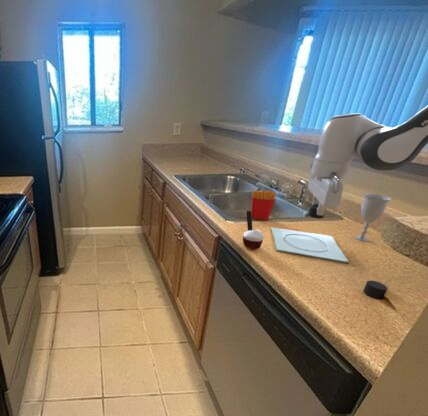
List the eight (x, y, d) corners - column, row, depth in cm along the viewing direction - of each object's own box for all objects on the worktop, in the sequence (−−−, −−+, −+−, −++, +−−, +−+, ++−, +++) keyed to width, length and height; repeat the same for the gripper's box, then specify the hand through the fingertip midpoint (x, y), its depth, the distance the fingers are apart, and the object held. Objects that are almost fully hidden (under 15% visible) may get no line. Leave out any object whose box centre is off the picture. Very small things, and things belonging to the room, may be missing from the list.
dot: (379, 291, 75) (383, 282, 74) (386, 300, 71) (390, 291, 70) (361, 288, 76) (364, 279, 75) (366, 296, 73) (370, 287, 72)
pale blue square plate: (331, 237, 105) (331, 235, 104) (348, 263, 88) (349, 261, 87) (270, 228, 113) (271, 226, 112) (276, 250, 96) (276, 249, 96)
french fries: (269, 217, 123) (275, 189, 119) (271, 221, 119) (277, 192, 115) (246, 215, 126) (251, 188, 121) (248, 218, 122) (253, 191, 117)
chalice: (369, 250, 95) (388, 201, 89) (345, 243, 100) (360, 196, 94) (375, 244, 99) (393, 197, 93) (351, 237, 104) (366, 192, 98)
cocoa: (262, 254, 94) (269, 222, 89) (242, 251, 96) (248, 219, 92) (258, 241, 102) (264, 212, 98) (240, 239, 104) (245, 210, 100)
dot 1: (321, 214, 90) (324, 206, 89) (324, 219, 86) (327, 210, 85) (306, 213, 91) (309, 204, 90) (309, 217, 88) (312, 208, 87)
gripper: (355, 179, 73) (339, 225, 78) (332, 163, 91) (320, 202, 96) (326, 176, 76) (312, 222, 81) (309, 162, 93) (299, 200, 98)
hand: (317, 211), depth 88 cm, fingers closed on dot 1, 4 cm apart
